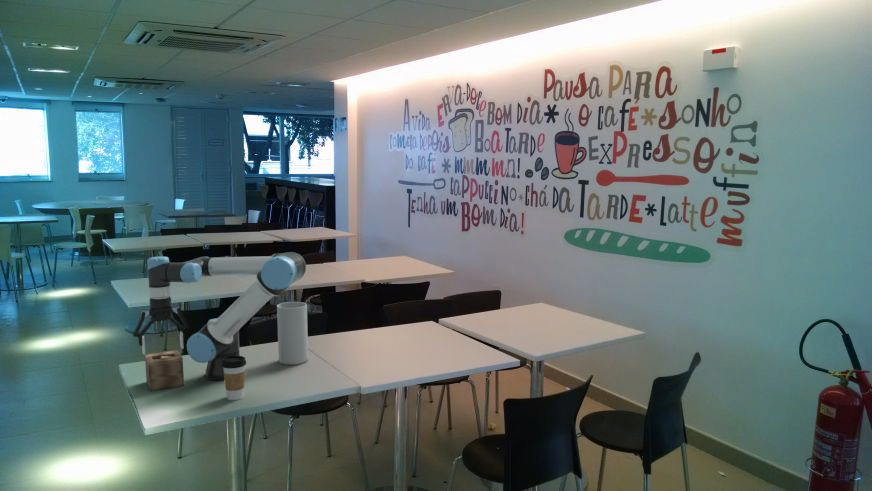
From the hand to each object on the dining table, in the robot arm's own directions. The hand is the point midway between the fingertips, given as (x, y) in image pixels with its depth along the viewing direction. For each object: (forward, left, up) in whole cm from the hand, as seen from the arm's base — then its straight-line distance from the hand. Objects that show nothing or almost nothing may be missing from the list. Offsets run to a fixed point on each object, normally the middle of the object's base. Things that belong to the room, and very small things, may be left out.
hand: (163, 350), depth 234 cm
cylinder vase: (-32, -41, -14) cm, 54 cm away
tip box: (0, 0, -13) cm, 13 cm away
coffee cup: (-35, +3, -13) cm, 38 cm away
